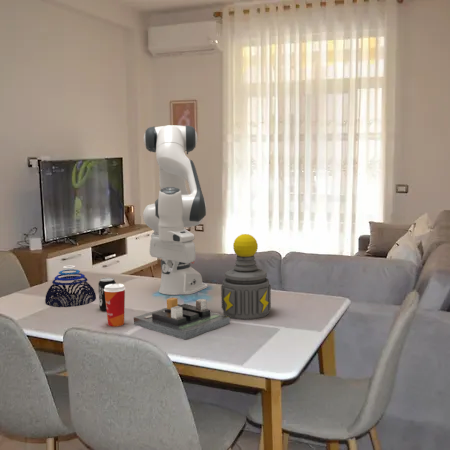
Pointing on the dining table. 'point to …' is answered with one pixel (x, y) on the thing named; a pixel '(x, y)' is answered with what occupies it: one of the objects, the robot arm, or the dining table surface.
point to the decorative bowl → (64, 291)
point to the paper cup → (115, 304)
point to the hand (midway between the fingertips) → (172, 272)
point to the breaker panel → (182, 331)
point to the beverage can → (102, 284)
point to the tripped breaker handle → (172, 303)
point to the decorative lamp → (245, 283)
